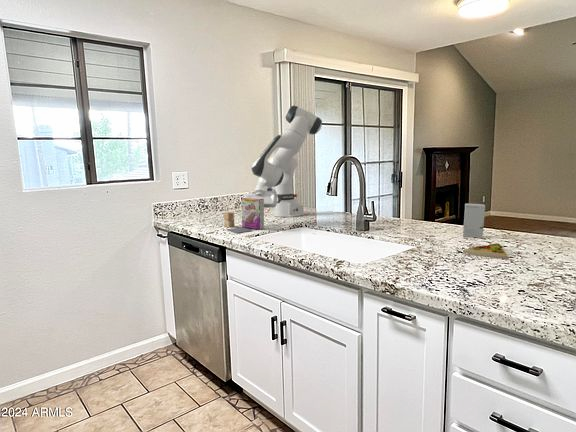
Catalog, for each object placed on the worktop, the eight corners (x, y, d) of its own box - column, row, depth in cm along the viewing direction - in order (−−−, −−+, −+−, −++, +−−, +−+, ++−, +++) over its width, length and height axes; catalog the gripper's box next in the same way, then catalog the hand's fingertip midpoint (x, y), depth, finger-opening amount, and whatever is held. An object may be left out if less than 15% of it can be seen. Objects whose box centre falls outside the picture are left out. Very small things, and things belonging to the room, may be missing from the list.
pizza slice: (461, 255, 147) (461, 247, 146) (478, 245, 161) (479, 238, 161) (506, 262, 136) (506, 253, 136) (520, 250, 151) (521, 243, 150)
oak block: (230, 226, 218) (229, 212, 217) (234, 226, 215) (233, 212, 214) (224, 227, 215) (223, 212, 214) (228, 227, 213) (228, 213, 211)
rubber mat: (241, 227, 211) (241, 227, 211) (253, 231, 201) (253, 230, 201) (226, 230, 206) (226, 229, 205) (236, 233, 196) (236, 232, 196)
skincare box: (462, 237, 174) (464, 204, 171) (462, 234, 179) (464, 203, 177) (483, 238, 170) (485, 205, 168) (483, 235, 176) (484, 203, 173)
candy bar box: (241, 227, 208) (241, 197, 205) (246, 226, 213) (246, 196, 209) (259, 230, 204) (259, 199, 200) (264, 228, 208) (264, 198, 205)
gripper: (243, 189, 218) (236, 208, 211) (277, 189, 211) (270, 209, 204) (247, 196, 223) (240, 215, 215) (280, 196, 216) (274, 216, 208)
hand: (255, 212), depth 209 cm, fingers closed
